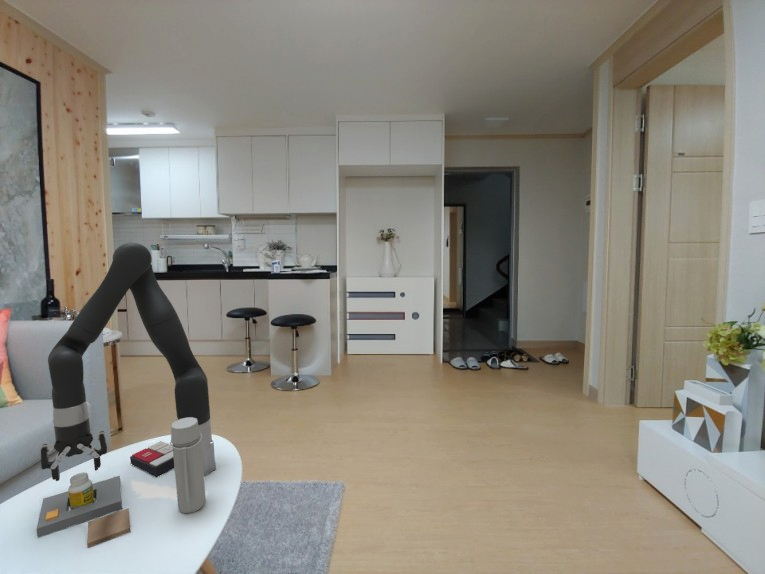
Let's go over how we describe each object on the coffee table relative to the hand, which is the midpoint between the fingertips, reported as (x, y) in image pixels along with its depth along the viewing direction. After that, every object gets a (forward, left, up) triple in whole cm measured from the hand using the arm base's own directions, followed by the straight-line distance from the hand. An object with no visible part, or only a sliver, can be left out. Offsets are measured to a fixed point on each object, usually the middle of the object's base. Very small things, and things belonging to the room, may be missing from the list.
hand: (77, 474), depth 110 cm
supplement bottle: (0, 0, -10) cm, 10 cm away
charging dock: (0, 0, -10) cm, 10 cm away
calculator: (-21, -13, -11) cm, 26 cm away
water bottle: (-25, +18, -10) cm, 33 cm away
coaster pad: (-6, +14, -10) cm, 19 cm away
